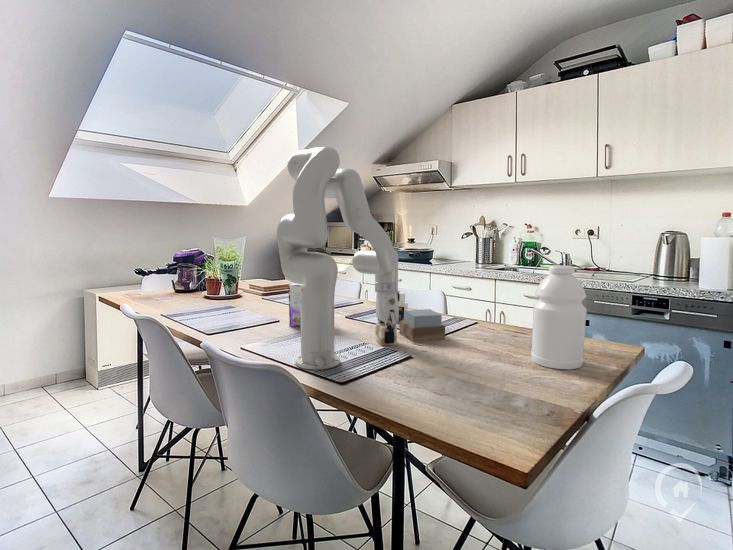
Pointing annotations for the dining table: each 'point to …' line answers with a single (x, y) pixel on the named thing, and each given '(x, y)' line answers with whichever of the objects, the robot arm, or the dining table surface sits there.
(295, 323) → the candy box
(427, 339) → the walnut base block
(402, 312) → the medicine bottle
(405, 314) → the slate top block
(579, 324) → the bottle
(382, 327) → the maple block
